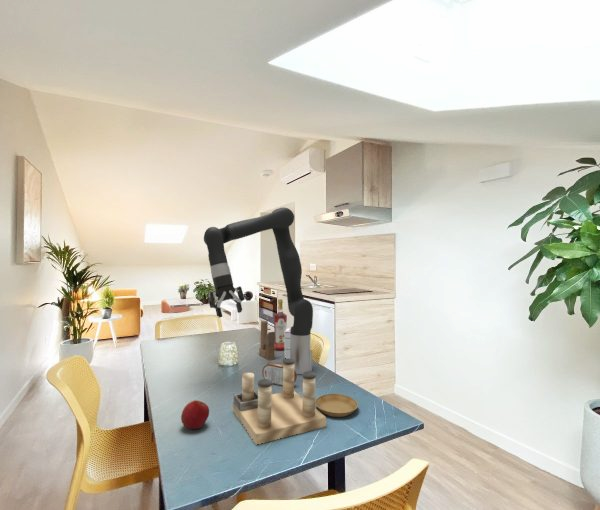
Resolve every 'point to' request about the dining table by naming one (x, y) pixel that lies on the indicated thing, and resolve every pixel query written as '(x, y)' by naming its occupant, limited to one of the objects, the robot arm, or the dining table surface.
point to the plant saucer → (336, 405)
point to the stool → (280, 408)
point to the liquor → (280, 326)
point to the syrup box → (287, 343)
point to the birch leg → (247, 387)
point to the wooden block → (267, 342)
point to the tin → (275, 373)
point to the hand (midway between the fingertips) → (230, 314)
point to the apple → (195, 414)
